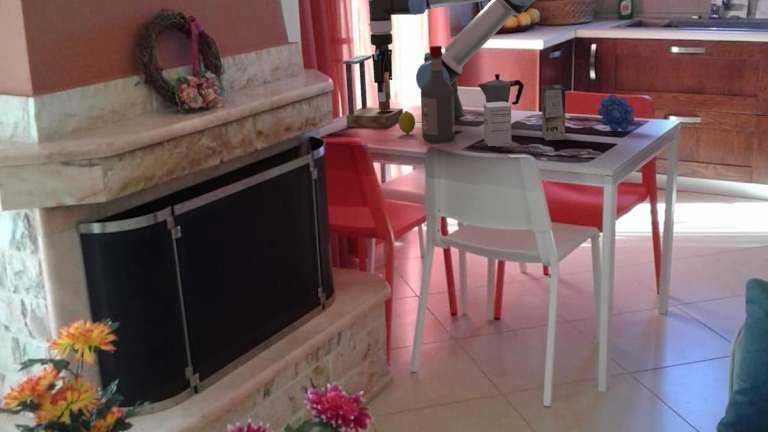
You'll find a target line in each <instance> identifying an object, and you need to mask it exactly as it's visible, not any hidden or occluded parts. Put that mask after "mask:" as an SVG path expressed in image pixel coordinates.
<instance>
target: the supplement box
mask: <svg viewBox="0 0 768 432" xmlns="http://www.w3.org/2000/svg"><path fill="white" fill-rule="evenodd" d="M511 125H512V106H511V105H510V103H509V102H508V103H507V102H490V103H486V102H483V138H484V139H483V141H484V143H485V144H486V146H488V147H489V146H496V147H501V146H500V145H510V146H512V126H511Z"/></svg>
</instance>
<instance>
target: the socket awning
mask: <svg viewBox="0 0 768 432" xmlns="http://www.w3.org/2000/svg"><path fill="white" fill-rule="evenodd" d="M370 59H372V54H370V55H366V54H365V55H364V54H362V55H361V54H360V55H359V54H358V55H356V56H353V57H351V58H348V59H346V60H343V61H342V64H343V65H344V66H345V77H346V95H347V110H348V114H346V127H353V128H354V127H355V128H383V129H386V128H387V129H389V128H391V127H393V126H395V125H397V124H399V117H400V115H401V114H402V113H404V109H403V108H397V107H396V108H395V107H393V108H392V107H390V110H379V107H368V102H367V101H368V100H367V99H368V98H367V96H368V95H367V83H366V82H367V81H366V80H367V79H366V61H367V60H370ZM358 64H359V66H358V68H359V81H360V82H359V83H360V86H359V87H360V99H361V101H360V102H361V103H360V104H361V107H360V108H358V109H356V110H355V105H354V89H353V75H352V71H353V70H352V65H358Z"/></svg>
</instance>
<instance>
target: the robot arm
mask: <svg viewBox="0 0 768 432" xmlns="http://www.w3.org/2000/svg"><path fill="white" fill-rule="evenodd" d="M484 1H487V0H368V11H369V12H368V13H369V24H368V26H369V27H370V29H369V31H370V33H371V34H370V44H371V45H372V46H374V47H375V49H374V53H372V54H371V55H372V58H371V59H372V65H373V66H372V68H373V83H374V84H376V85H377V88H376V89H377V101H380V102H385V101H386V92H385V83H384V72H389V95H390V100H391V99H392V98H391V81H392V80H393V63H392V61H393V59H392V55H393V49H391V48H390V46H389V45H392V44H393V33H392V31H393V21H392V16H396V15H397V16H400V15H402V16H404V15H405V16H406V15H407V16H408V15H412V16H413V15H414V16H416V15H417V16H418V15H423V14H425V13H426V10H427V11H428V10H431V9H437V8H438V9H439V8H446V7H450V6H458V5H464V4H471V3H478V2H484ZM534 2H536V0H489V2H488V3H487V4H486V5H485V6H484V7H483V9H482V10H480V12H478V14H477V15H475V17H473V18H472V20H471V21H470V22H468V24H467V25H466V26H465V27H463V29H462V30H461V31H460V32H459V33H458V34H457V35H456V36H455V37H454V38H453V39H452V40H451V41H450V43H448V45H446V47H444V48H442V56H441V57H442V73H443V77H444V78H445V79H446V80H447V81H448V83H449V84H450V85H451V86H452V87H453V89H454V113H455V118H459V117H463V115H464V107H463V104H462V102H461V99H460V96H459V86H458V85H459V84H458V78H459V77H460V75H462V74H463V66H464V65H466V64H467V62H468V61H469V60H470V59H471V58H472V57H473V56H474V55H476V54H477V53H478V51H479V50H480V49H481V48H482V47H484V45H485V44H487V42H488V41H489V40H490V39H491V38H492V37H493V36H494V35H495V34H496V33H497V32H498V31H499V30H500V29H501V28H502V27H503V26H504V25H505V24H506V23H507V22H508V21H509V20H510V19H511V18H512V17H513V16H520V15H522V14H523V12H524V11H525V10H526V9H527V8H528V7H530V6H531V4H533V3H534ZM423 61H424V63H422V64H421V65H420V66H418V69H417V71H416V77H415V80H416V81H415V82H416V84H417V86H418V88H419V90H421V89H422V87H423V86H424V85H425V83H426V82H427V81H428V80H429V78H430V75H431V56H430V51H429V52H425V53H424V58H423Z"/></svg>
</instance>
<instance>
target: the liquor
mask: <svg viewBox="0 0 768 432" xmlns="http://www.w3.org/2000/svg"><path fill="white" fill-rule="evenodd" d="M442 46H443V45H430V46H429V50H430V51H429V52H430V56H431V75H430V78H429V80H428V81H427V82H426V83H425V85H424V86H423V87H422V89H420V107H421V112H420V113H421V131H422V132H421V133H422V134H421V136H422V139H423V141H424V142H427V143H429V144H442V143H443V144H445V143H450V142H449V141H451V142H453V141H454V140H455V138H456V123H455V122H456V121H455V113H454V89H453V87H452V86H451V85H450V84H449V83H448V81H447V80H446V79H445V78H444V77H443V73H442V57H441V56H442V49H443V47H442ZM452 140H453V141H452Z"/></svg>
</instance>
